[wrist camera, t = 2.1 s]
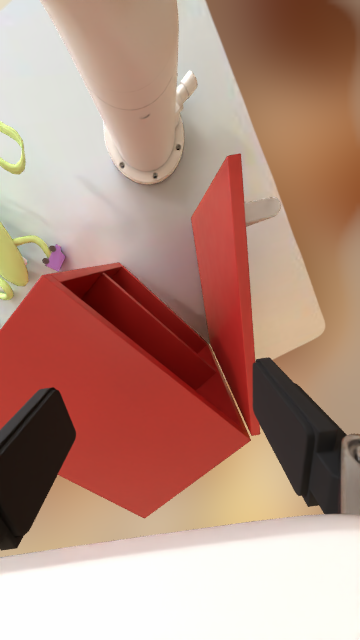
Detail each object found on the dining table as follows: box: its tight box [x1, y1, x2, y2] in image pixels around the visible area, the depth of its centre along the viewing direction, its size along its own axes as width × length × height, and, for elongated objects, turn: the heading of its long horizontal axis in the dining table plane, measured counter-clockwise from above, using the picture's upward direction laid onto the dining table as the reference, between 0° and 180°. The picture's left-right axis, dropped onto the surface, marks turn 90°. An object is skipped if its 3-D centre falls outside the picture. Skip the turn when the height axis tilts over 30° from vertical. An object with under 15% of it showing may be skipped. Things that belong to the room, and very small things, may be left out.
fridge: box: [0, 263, 251, 518], centre depth 31 cm, size 18×26×24 cm
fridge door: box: [191, 154, 281, 436], centre depth 29 cm, size 7×26×24 cm, turn 11°
